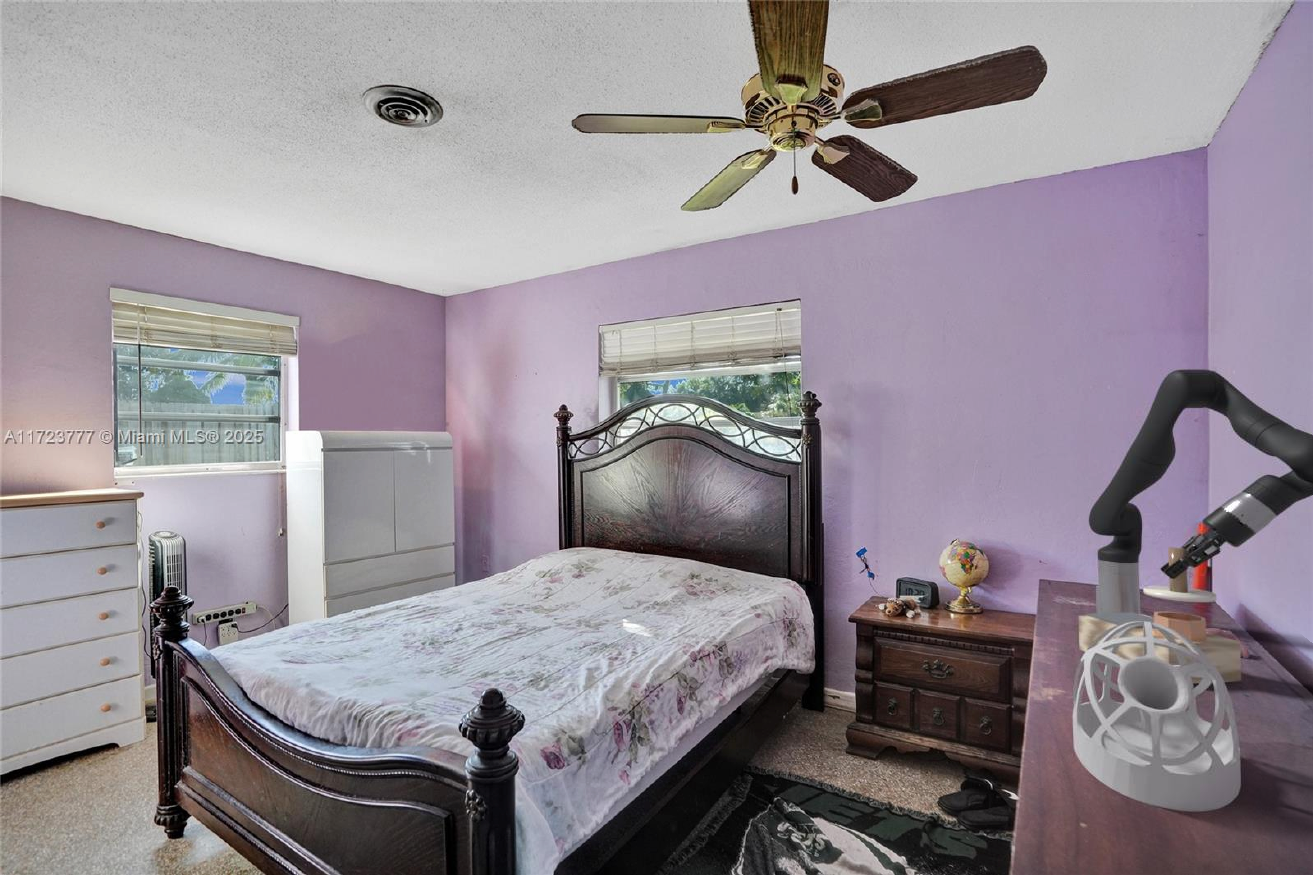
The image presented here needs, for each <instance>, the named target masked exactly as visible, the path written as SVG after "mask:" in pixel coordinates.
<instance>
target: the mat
mask: <svg viewBox="0 0 1313 875" xmlns="http://www.w3.org/2000/svg"><path fill="white" fill-rule="evenodd" d="M1140 614H1141V613H1140ZM1140 614H1137V613H1133V612H1126V613H1096V612H1094V613H1085V615H1087V616H1090V617H1093V618H1097V619H1100V620H1103V621H1106V622H1109V623H1113V624H1116V625H1119V624H1124V623H1128V622H1135V621H1145V622H1152V623H1154V618H1151V617H1152V616H1150V617H1147V616H1148V615H1146V616H1144V615H1145V614H1143V615H1140ZM1136 628H1143V626H1139V627H1136ZM1152 628H1154V627H1152Z"/></svg>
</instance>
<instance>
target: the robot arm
mask: <svg viewBox="0 0 1313 875" xmlns="http://www.w3.org/2000/svg"><path fill="white" fill-rule="evenodd" d="M1204 408H1206V409H1209V410H1211V411H1215V412H1216V413H1219V414H1221V415H1222V416H1224V417H1225V418H1227V419H1228V421H1229V423H1230V426H1231V428H1232V430H1233V432H1234V433H1235V434H1236V435H1237V436H1238V437H1239V438H1240V439H1242V440H1243V441H1244V442H1246V443H1247V444H1249V445H1250V446H1252V447H1254V448H1255V449H1257V450H1259V451H1260V452H1261V453H1263V454H1265V455H1268V456H1271V457H1275V458H1277V459H1279V460H1280V461H1282V462H1283V463H1284V464H1285V465H1287V467H1288V468H1290V469H1291V471H1289V472H1288V473H1287V472H1286V473H1285V474H1283V475H1281V476H1278V475H1277V476H1276V475H1273V474H1265V475H1262V476H1260V477H1259V478H1258V479H1256V480H1255V481H1254V482H1252V483H1251V484H1250V485H1249V486H1246V487H1245V489H1243V490H1241V492H1239V493H1237V494H1235V495H1234V496H1232V497H1230V498H1229V499H1228V500H1227V501H1225V502H1224V503H1223V504H1221V505H1220V506H1219V507H1217V508H1216V509H1215V510H1214V511H1212V512H1211V513H1209V514H1208V515H1207V516H1206V517H1204V518H1203V519H1202V524H1203V525H1204V526H1205V527H1206V528H1208V530H1207V531H1204V533H1202V534H1201V533H1198V534H1196V535H1193V536H1191V537H1190V539H1188V540H1187V541H1186V542H1185V543H1184V544H1183V545H1182V546H1181V547H1180V548H1185V549H1186V553H1185V554H1184V555H1183V556H1181V557H1180V558H1179V560H1180V561H1179V560H1177V561H1176V562H1174V563H1173V564H1172V565H1170V566H1169V561H1168V562H1166V563H1165V564H1164V565H1163V566H1161V567H1160V571H1161V572H1162V573H1163V574H1165V575H1166V576H1168V578H1169V577H1170V578H1171V579H1175V578H1176V577H1177V576H1179V575H1180V574H1181V573H1183V572H1184V571H1185V570H1187V571H1188V569H1192V568H1195V569H1196V568H1198V567H1199V566H1201V565H1202V564H1204V563H1206V562H1207V561H1209V560H1211V559H1212V558H1214V557H1215V556H1217V555H1219V554H1220V553H1221V547H1222V546H1223V545H1224V544H1225V543H1227V544H1228V545H1230V546H1232V547H1234V548H1239V547H1240V546H1242V545H1243V544H1245V542H1247V541H1248V540H1250V539H1252V537H1254V536H1255V535H1257V534H1258V533H1260V531H1262V530H1263V529H1265V528H1266V527H1267V526H1269V525H1270V523H1271V522H1272V521H1273V520H1275V519H1276V518H1277V517H1278V516H1280V515H1281V514H1282V513H1284V512H1285V511H1286V510H1287V509H1289V508H1291V507H1292V506H1293V505H1294V504H1295V503H1297V502H1299V501H1302V500H1305V499H1307V498H1309V497H1312V496H1313V434H1311V433H1309V432H1306V431H1303V430H1301V429H1297V428H1295V427H1294V426H1292V425H1290V424H1289V423H1287V422H1285V421H1283V420H1282V419H1280V418H1278V417H1277V416H1275V415H1273V414H1272V413H1269V412H1268V411H1266V410H1265V409H1263V408H1262V407H1260V406H1259V405H1258V404H1256V403H1255V402H1253V401H1252V400H1251V399H1250V398H1248V397H1247V396H1246V395H1244V393H1242V392H1241V391H1240V390H1239V389H1237V388H1236V386H1234V385H1233V384H1232V383H1231V382H1230V381H1229V380H1227V379H1226V378H1225V377H1224V376H1222V375H1221V374H1220V373H1218V372H1217V371H1213V370H1209V369H1200V368H1199V369H1175V370H1173V371H1171V372H1170V373H1168V374H1167V375H1166V376H1165V377H1164V379H1163V380H1162V381H1161V383H1160V386H1159V387H1158V390H1157V392H1156V394H1155V397H1154V399H1153V402H1152V404H1151V407H1150V409H1149V412H1148V414H1147V416H1146V418H1145V420H1144V422H1143V424H1142V426H1141V428H1140V430H1139V432H1138V434H1137V435H1136V437H1135V438H1134V440H1133V442H1132V444H1131V445H1130V447H1129V449H1128V450H1127V453H1126V454H1125V456H1124V458H1123V460H1122V462H1121V464H1120V465H1119V468H1118V469H1117V470H1116V472H1115V474H1114V476H1113V477H1112V479H1111V481H1110V482H1109V484H1108V485H1107V487H1106V488H1105V489H1104V491H1103V492H1102V493H1101V494H1100V496H1099V498H1097V499H1096V501H1095V503H1094V505H1092V508H1091V509H1090V511H1089V514H1088V525H1089V527H1090V530H1091V531H1092V532H1093V533H1094V534H1096V535H1098V536H1099V535H1100V536H1105V537H1107V536H1108V537H1113V539H1112V541H1111V542H1110V543H1109V544H1107V545H1105V546H1103V547H1100V548H1099V549H1098V550H1097V574H1098V575H1097V577H1098V579H1097V580H1098V584H1097V585H1096V586H1095V601H1096V602H1095V604H1096V605H1095V610H1096V612H1095V613H1126V612H1133V613H1137V614H1141V603H1140V602H1141V598H1140V597H1141V596H1140V595H1141V594H1140V566H1139V563H1140V561H1139V560H1140V559H1139V558H1140V555H1141V552H1142V544H1143V536H1142V535H1143V517H1142V512H1141V511H1140V509H1139V508H1138V506H1137V505H1135V504H1134V503H1132V502H1130V501H1132V500H1133V499H1134V498H1136V496H1138V495H1140V494H1141V493H1142V492H1144V491H1146V490H1147V489H1149V488H1150V487H1153V485H1154V484H1156V483H1157V482H1158V481H1159V480H1161V479H1162V477H1164V475H1165V474H1166V472H1167V470H1168V469H1169V468H1170V466H1171V464H1172V462H1174V459H1175V456H1176V451H1177V449H1176V448H1177V446H1176V442H1175V437H1174V428H1175V424H1176V423H1177V420H1178V419H1179V417H1180V415H1181V414H1182V413H1183V411H1185V409H1204Z"/></svg>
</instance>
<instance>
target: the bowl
mask: <svg viewBox="0 0 1313 875" xmlns="http://www.w3.org/2000/svg"><path fill="white" fill-rule="evenodd" d="M1153 613H1154V614H1153V617H1154V623H1157V624H1160V625H1163V626H1166V627H1168V628H1171V629H1173V630H1175V631H1177V632H1179V633H1180V634H1182V635H1184V636H1185V637H1186V638H1188V639H1189V640H1190V641H1206V628H1207V621H1206V617H1203V616H1199V615H1195V614H1192V613H1187V612H1185V613H1184V612H1175V611H1153ZM1154 634H1156V635H1160V636H1163V637H1165V636H1164V635H1163V634H1162V633H1161V632H1160V631H1158V630H1157V629H1155V628H1154ZM1170 635H1171V636H1172V637H1173V638H1174V639H1177V640H1180V639H1178V638H1177V637H1175V636H1174V635H1173V634H1171V633H1170Z"/></svg>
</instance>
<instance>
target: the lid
mask: <svg viewBox="0 0 1313 875" xmlns="http://www.w3.org/2000/svg"><path fill="white" fill-rule="evenodd" d="M1185 553H1186V549H1185V548H1181V547H1168V554H1167V555H1168V562H1169V566H1170V565H1172V564H1173V563H1174V562H1176V561H1177V560H1179V558H1180V557H1181V556H1183V555H1184V554H1185ZM1179 561H1180V560H1179ZM1168 579H1169V585H1148V586H1144V587H1143V590H1142V592H1143V594H1144V595H1146V596H1150V597H1153V598H1157V599H1162V600H1169V601H1176V602H1178V601H1179V602H1189V603H1212V602H1213V603H1214V602H1216V601H1217V594H1216V593H1214V592H1212V591H1208V590H1203V589H1197V588H1192V587H1190V588H1189V584H1188V569H1187V570H1185V571H1184V572H1183V573H1181V574H1180V575H1179V576H1177V577H1176V578H1175V579H1171V578H1170V577H1169V576H1168Z"/></svg>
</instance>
